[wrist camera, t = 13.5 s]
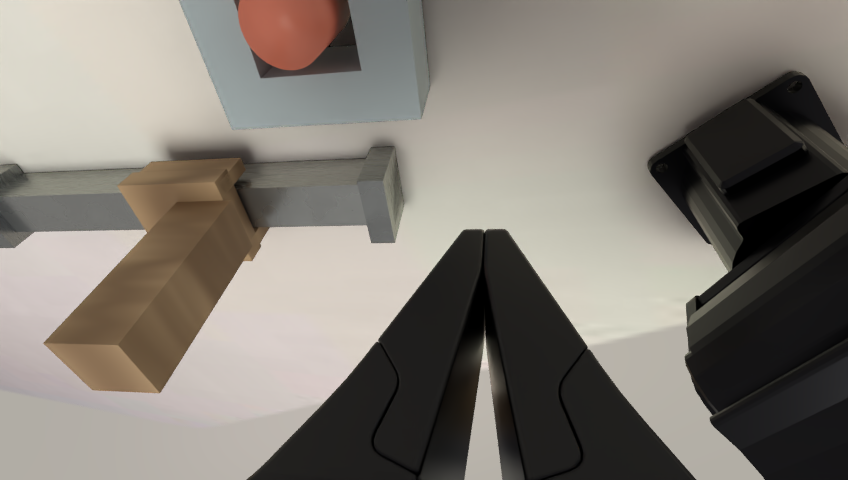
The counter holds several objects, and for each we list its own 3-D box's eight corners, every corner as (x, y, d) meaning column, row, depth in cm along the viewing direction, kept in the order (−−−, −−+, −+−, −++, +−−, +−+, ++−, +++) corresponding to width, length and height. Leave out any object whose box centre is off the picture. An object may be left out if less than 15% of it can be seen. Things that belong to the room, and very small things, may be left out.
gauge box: (406, -151, 15) (388, -156, 12) (429, 86, 20) (421, 119, 17) (185, -117, 16) (125, -115, 13) (260, 97, 21) (227, 130, 18)
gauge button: (341, -46, 16) (310, -28, 13) (357, 36, 18) (332, 67, 15) (269, -37, 16) (224, -19, 14) (291, 42, 18) (256, 73, 15)
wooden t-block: (246, 153, 22) (99, 324, 13) (277, 229, 25) (172, 407, 16) (149, 158, 23) (-46, 322, 14) (190, 231, 26) (49, 401, 17)
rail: (394, 146, 22) (382, 180, 19) (404, 205, 24) (394, 242, 22) (-1, 165, 25) (-53, 196, 23) (39, 215, 28) (-4, 248, 25)
